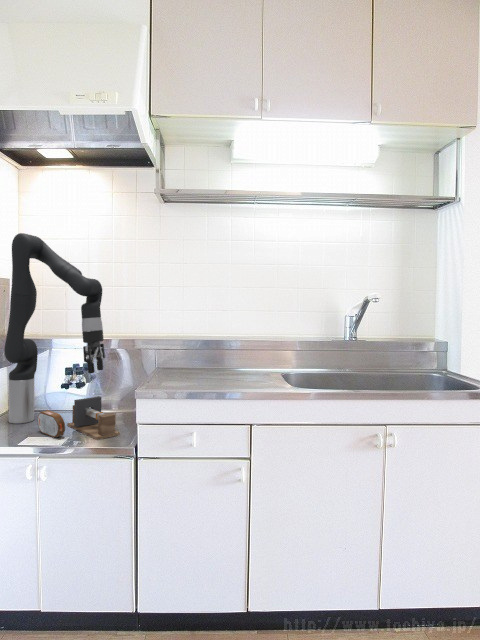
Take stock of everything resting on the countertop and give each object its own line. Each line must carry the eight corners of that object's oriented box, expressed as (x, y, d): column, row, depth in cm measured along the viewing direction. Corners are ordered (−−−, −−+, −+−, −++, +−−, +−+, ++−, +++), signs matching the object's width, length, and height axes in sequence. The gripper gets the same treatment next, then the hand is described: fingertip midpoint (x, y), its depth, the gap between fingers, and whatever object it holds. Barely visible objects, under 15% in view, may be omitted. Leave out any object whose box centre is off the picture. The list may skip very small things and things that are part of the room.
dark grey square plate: (74, 426, 160) (74, 399, 160) (98, 421, 167) (98, 396, 167) (76, 427, 159) (76, 400, 158) (101, 422, 166) (101, 397, 166)
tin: (65, 438, 150) (66, 414, 150) (57, 440, 148) (57, 416, 148) (43, 430, 159) (44, 408, 159) (35, 431, 157) (35, 409, 157)
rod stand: (67, 425, 165) (67, 406, 165) (89, 421, 172) (89, 402, 172) (96, 440, 149) (97, 418, 148) (119, 434, 155) (120, 413, 155)
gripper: (90, 330, 169) (94, 370, 170) (74, 331, 155) (78, 374, 155) (108, 328, 169) (112, 368, 169) (94, 329, 155) (98, 373, 155)
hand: (96, 371), depth 162 cm, fingers open, 8 cm apart
